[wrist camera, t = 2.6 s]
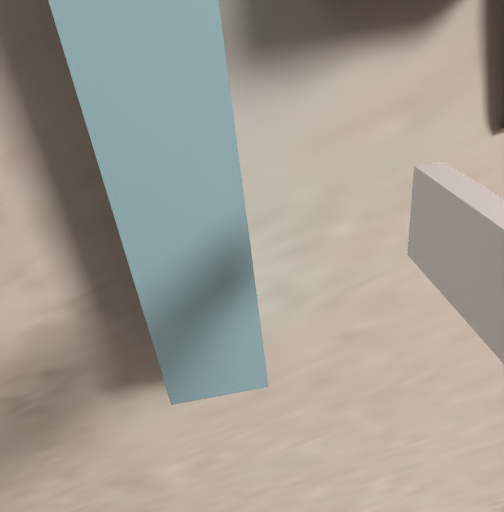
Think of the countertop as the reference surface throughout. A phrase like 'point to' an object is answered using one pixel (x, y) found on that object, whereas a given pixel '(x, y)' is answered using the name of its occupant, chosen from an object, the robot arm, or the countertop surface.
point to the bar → (172, 181)
